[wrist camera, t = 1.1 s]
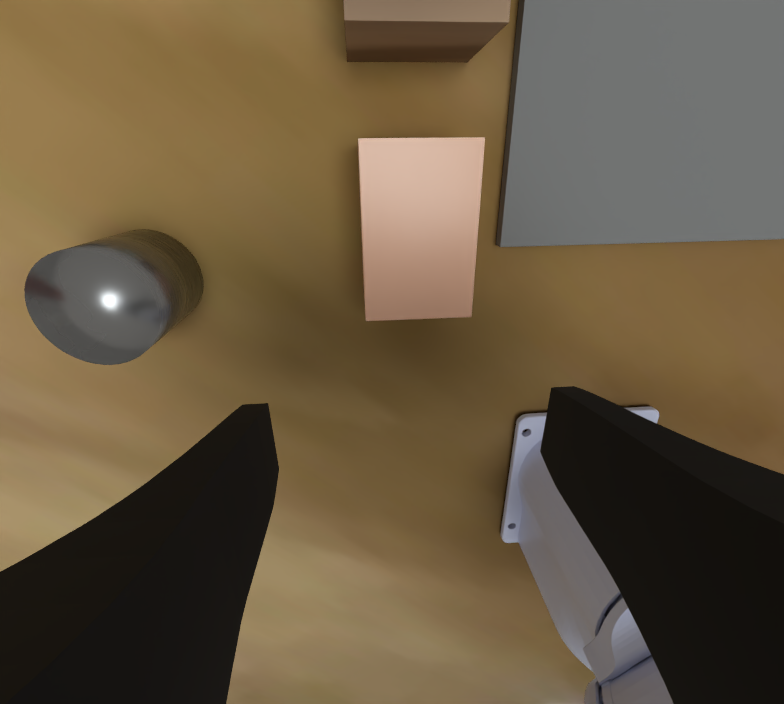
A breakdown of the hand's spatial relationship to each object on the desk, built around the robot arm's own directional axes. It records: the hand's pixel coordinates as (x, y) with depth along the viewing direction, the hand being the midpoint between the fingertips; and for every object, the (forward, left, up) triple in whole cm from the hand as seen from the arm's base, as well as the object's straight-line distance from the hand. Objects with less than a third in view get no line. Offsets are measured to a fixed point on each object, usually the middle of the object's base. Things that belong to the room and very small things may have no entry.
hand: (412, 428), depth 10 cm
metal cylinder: (+2, +10, -10) cm, 14 cm away
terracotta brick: (+4, -1, -10) cm, 10 cm away
